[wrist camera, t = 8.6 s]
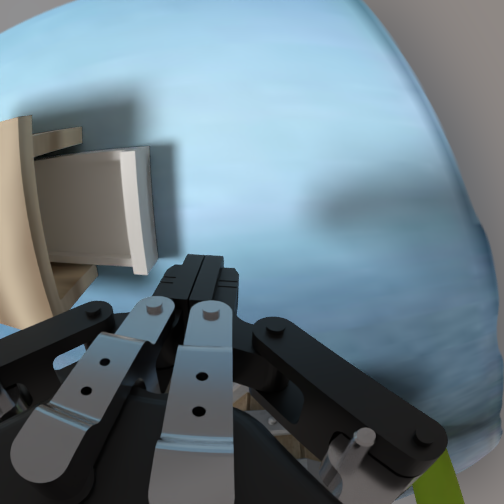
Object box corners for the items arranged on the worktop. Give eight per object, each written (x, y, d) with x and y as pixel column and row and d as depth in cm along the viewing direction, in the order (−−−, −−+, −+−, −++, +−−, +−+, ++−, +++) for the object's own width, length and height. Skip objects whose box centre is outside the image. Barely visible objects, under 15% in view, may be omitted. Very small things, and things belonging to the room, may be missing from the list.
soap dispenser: (409, 454, 35) (434, 562, 17) (396, 442, 33) (424, 566, 14) (443, 437, 33) (476, 544, 15) (435, 422, 31) (474, 546, 13)
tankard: (192, 409, 29) (167, 537, 16) (267, 343, 25) (265, 522, 11) (326, 458, 34) (335, 555, 20) (402, 411, 29) (434, 521, 16)
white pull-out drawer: (149, 146, 18) (135, 150, 16) (158, 258, 22) (147, 275, 20) (-3, 166, 19) (-21, 173, 17) (14, 251, 22) (-2, 263, 20)
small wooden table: (81, 109, 17) (18, 117, 11) (100, 288, 23) (61, 340, 17) (-13, 130, 17) (-69, 146, 11) (11, 275, 23) (-29, 313, 17)
